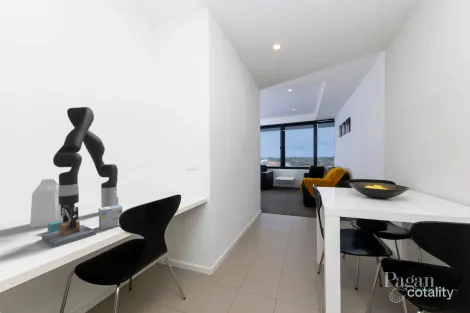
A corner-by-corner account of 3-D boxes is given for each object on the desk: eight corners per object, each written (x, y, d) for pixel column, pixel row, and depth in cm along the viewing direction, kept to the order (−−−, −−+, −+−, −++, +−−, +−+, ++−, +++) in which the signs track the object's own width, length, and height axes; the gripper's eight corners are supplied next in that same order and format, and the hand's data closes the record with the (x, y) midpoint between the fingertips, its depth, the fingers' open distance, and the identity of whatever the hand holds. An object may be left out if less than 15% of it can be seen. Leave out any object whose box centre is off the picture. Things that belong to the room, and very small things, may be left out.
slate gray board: (81, 228, 107) (81, 224, 107) (95, 234, 98) (95, 230, 98) (41, 239, 93) (41, 235, 93) (54, 247, 85) (54, 242, 85)
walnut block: (74, 229, 100) (74, 219, 100) (79, 231, 97) (79, 221, 97) (59, 233, 95) (59, 223, 95) (64, 236, 92) (64, 225, 92)
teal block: (58, 228, 107) (58, 220, 107) (62, 230, 104) (61, 222, 104) (47, 231, 103) (47, 223, 103) (50, 233, 100) (50, 224, 100)
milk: (67, 218, 123) (66, 177, 123) (56, 225, 112) (55, 179, 112) (44, 220, 120) (43, 178, 120) (30, 227, 109) (29, 180, 109)
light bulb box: (120, 222, 116) (119, 204, 116) (123, 225, 111) (123, 206, 111) (98, 227, 109) (97, 207, 109) (100, 230, 104) (100, 210, 104)
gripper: (84, 193, 95) (85, 227, 95) (72, 191, 103) (72, 221, 103) (64, 196, 89) (65, 232, 89) (53, 193, 96) (54, 226, 96)
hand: (69, 226), depth 96 cm, fingers open, 8 cm apart
